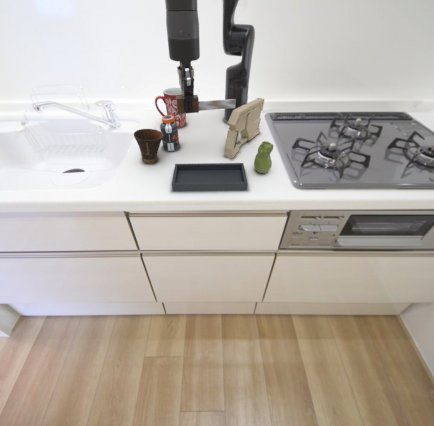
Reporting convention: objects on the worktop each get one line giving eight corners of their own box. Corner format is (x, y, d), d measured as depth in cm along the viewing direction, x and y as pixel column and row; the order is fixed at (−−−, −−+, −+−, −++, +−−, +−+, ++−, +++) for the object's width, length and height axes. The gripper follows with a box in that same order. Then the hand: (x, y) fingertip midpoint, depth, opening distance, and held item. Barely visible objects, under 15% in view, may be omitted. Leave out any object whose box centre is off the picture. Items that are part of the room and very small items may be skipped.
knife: (233, 106, 71) (234, 92, 68) (236, 109, 69) (237, 95, 66) (177, 110, 68) (175, 95, 66) (177, 114, 67) (176, 99, 64)
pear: (258, 164, 79) (263, 136, 72) (273, 170, 76) (279, 141, 69) (249, 172, 76) (253, 143, 69) (264, 178, 73) (269, 149, 66)
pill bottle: (176, 152, 85) (173, 121, 77) (161, 150, 86) (156, 120, 78) (181, 144, 89) (178, 114, 81) (166, 143, 90) (162, 112, 82)
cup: (171, 160, 81) (168, 132, 74) (149, 170, 77) (143, 142, 70) (157, 150, 86) (152, 123, 79) (135, 160, 81) (128, 132, 74)
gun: (230, 160, 80) (236, 115, 71) (222, 158, 82) (226, 113, 72) (258, 138, 96) (265, 98, 87) (251, 136, 98) (257, 96, 88)
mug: (187, 119, 105) (185, 86, 96) (188, 128, 99) (186, 94, 89) (158, 121, 104) (153, 88, 95) (158, 130, 98) (152, 95, 88)
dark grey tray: (172, 191, 69) (171, 184, 67) (176, 170, 77) (175, 163, 75) (246, 190, 69) (247, 183, 67) (242, 169, 77) (243, 162, 75)
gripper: (204, 39, 51) (205, 119, 63) (194, 31, 61) (197, 101, 73) (169, 40, 50) (177, 121, 62) (165, 31, 60) (172, 102, 72)
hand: (187, 110), depth 68 cm, fingers closed on knife, 2 cm apart
